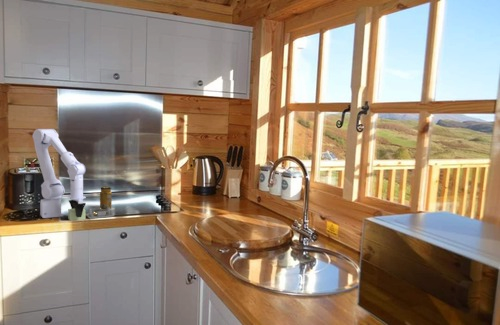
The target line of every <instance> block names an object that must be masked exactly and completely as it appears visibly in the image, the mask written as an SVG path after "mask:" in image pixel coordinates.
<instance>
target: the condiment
mask: <svg viewBox="0 0 500 325" xmlns="http://www.w3.org/2000/svg"><path fill="white" fill-rule="evenodd" d="M112 199H113V198H112V187H111V186H101V187H100V193H99V206H97V207H96V209H101V208H102V211H107V207H110V211H111V210H112V211H113V210H115V208H114V207H112V204H113V203H112V201H113V200H112Z"/></svg>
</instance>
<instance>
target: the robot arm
mask: <svg viewBox="0 0 500 325" xmlns="http://www.w3.org/2000/svg"><path fill="white" fill-rule="evenodd" d="M59 137H60V136H59V133H58V132H57V131H56V129H54V128H36V129H35V130H34V132H33V133H32V140H33V143H34V150H35V153H36V156H37V160H38V164H39V167H40V171H41V174H42V177H43V182H42V183H41V185H40V187H41V195H42V197H43V199H40V203H39V204H40V205H39V206H40V208H39V209H40V212H39V213H40V214H39V215H40V216H41V217H42V219H49V218H58V217H60V218H61V217H64V214H63V213H62V198H63V196H64V195H65V187H64V185H63V184H62V182H61V180H60V179H58V178H57V176H56V172H55V170H54V166H53V163H52V160H51V157H50V153H49V147H50V146H52V147H53V148H54V149H55V150H56V152H57V153H58V154H59V155H60V160H61V161H62V163H63V165H64V166H65V167H66V168H67V174H68V175H69V180H70V181H69V183H70V198H69V199H68V202H69V205H70V207H71V208H70V209H75V212H76V217H81V216H82V212H83V209H85V206H86V202H84V199H86V198H87V197H86V196H85V195H84V175H85V173H86V171H87V170H86V165H84V163H82V162H80V161H78V160H77V158H76V157H75V156H74V153H72V152H71V151H68V150H67V149H66V147H65V145H64V144H63V143H62V141H61V140H60V138H59Z"/></svg>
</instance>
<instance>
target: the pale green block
mask: <svg viewBox="0 0 500 325" xmlns="http://www.w3.org/2000/svg"><path fill="white" fill-rule="evenodd" d="M86 214H87V213H86V209H85V208H84V209H83V212H82V216H81V217H76V212H75V209H72V208H69V209H68V215H67V216H68V217H67V219H68V220H69V221H70V222H71V221H73V222H74V221H82V220H86V217H87V216H86Z"/></svg>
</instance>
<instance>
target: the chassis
mask: <svg viewBox="0 0 500 325" xmlns="http://www.w3.org/2000/svg"><path fill="white" fill-rule="evenodd" d="M86 217H87V218H88V219H89V220H92V219H103V218H113V217H115V215H114V214H113V213H112V212H111V210H110V207H107V210H102V208H101V209H98V208H93V209H92V208H88V213H86Z"/></svg>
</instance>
